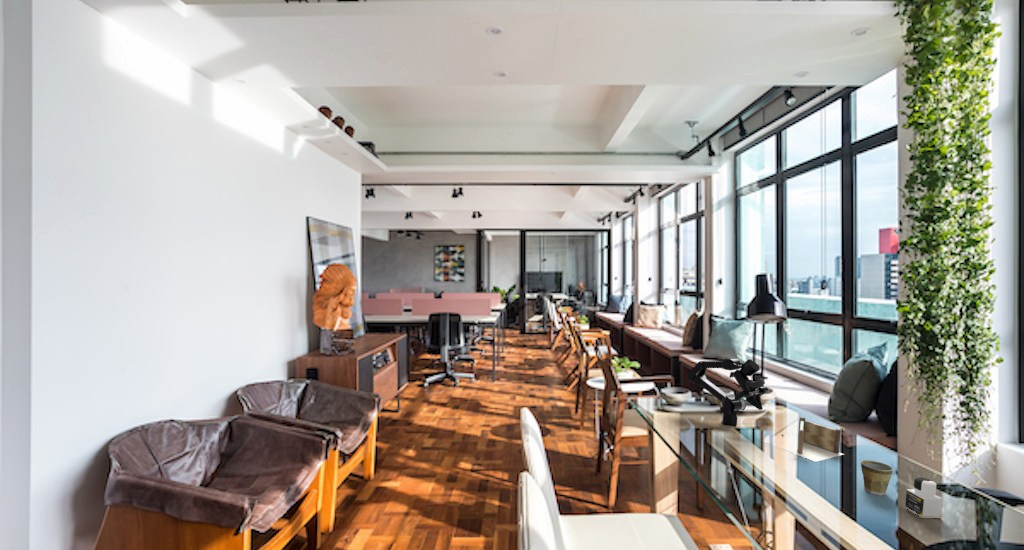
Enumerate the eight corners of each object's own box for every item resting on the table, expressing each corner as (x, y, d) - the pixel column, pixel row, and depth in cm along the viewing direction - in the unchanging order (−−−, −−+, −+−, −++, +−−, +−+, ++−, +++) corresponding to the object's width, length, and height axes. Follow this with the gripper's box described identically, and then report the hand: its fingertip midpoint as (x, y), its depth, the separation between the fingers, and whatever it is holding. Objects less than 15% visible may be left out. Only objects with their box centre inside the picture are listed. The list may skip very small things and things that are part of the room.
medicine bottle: (904, 508, 186) (907, 475, 185) (923, 508, 186) (926, 475, 186) (921, 519, 179) (924, 484, 178) (941, 519, 179) (944, 484, 179)
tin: (744, 411, 299) (745, 396, 299) (746, 412, 296) (747, 397, 296) (717, 409, 301) (718, 394, 300) (718, 410, 297) (719, 395, 297)
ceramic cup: (892, 500, 192) (894, 473, 192) (859, 492, 197) (861, 466, 197) (889, 487, 203) (891, 462, 203) (858, 480, 208) (860, 455, 208)
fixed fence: (796, 440, 252) (798, 417, 252) (799, 439, 253) (801, 416, 253) (837, 454, 236) (839, 429, 235) (840, 453, 237) (842, 429, 236)
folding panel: (798, 440, 250) (799, 420, 250) (803, 441, 249) (804, 420, 249) (797, 452, 234) (798, 430, 234) (802, 453, 233) (804, 431, 233)
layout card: (756, 440, 249) (757, 439, 249) (785, 434, 260) (785, 433, 260) (815, 462, 225) (815, 461, 225) (844, 455, 236) (844, 454, 236)
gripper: (740, 375, 256) (759, 405, 248) (766, 370, 265) (785, 398, 256) (726, 386, 264) (744, 415, 256) (752, 381, 272) (769, 409, 264)
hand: (761, 409), depth 258 cm, fingers closed
